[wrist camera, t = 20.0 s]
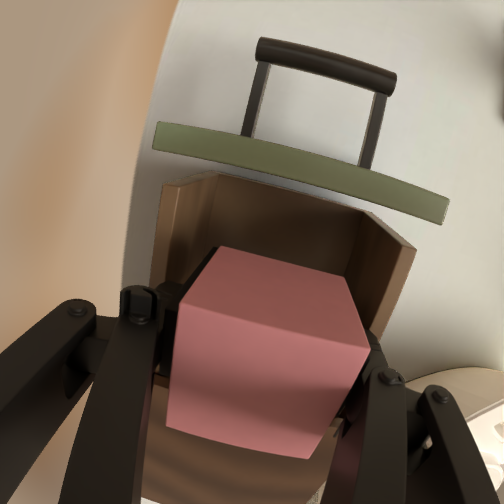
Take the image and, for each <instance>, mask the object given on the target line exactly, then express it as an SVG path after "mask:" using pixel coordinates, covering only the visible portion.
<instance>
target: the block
mask: <svg viewBox="0 0 504 504" xmlns="http://www.w3.org/2000/svg"><path fill="white" fill-rule="evenodd" d="M370 350H371V348H370V345H369V343H368V340H367V337H366V334H365V331H364V329H363V326H362V323H361V320H360V318H359V315H358V312H357V309H356V307H355V304H354V302H353V299H352V296H351V294H350V291H349V288H348V286H347V283H346V281H345V278H344V277H341V276H338V275H334V274H330V273H326V272H322V271H318V270H314V269H310V268H306V267H302V266H298V265H295V264H291V263H287V262H283V261H279V260H275V259H271V258H267V257H263V256H259V255H256V254H252V253H248V252H244V251H240V250H236V249H232V248H228V247H224V246H220V247H219V249H218V250H217V251H216V253H215V254H214V255H213V257H212V258H211V260H210V261H209V262H208V264H207V265H206V267H205V268H204V269H203V271H202V272H201V273H200V275H199V276H198V278H197V279H196V280H195V282H194V283H193V285H192V286H191V287H190V289H189V290H188V292H187V293H186V294H185V296H184V297H183V299H182V300H181V302H180V303H179V308H178V315H177V323H176V330H175V338H174V346H173V355H172V363H171V372H170V382H169V392H168V402H167V413H166V426H167V427H170V428H173V429H177V430H180V431H183V432H186V433H189V434H193V435H196V436H200V437H203V438H207V439H211V440H214V441H218V442H222V443H226V444H230V445H234V446H239V447H243V448H248V449H252V450H257V451H262V452H267V453H273V454H278V455H284V456H290V457H297V458H304V459H309V457H310V456H311V454H312V453H313V451H314V450H315V448H316V447H317V445H318V443H319V442H320V440H321V439H322V437H323V436H324V434H325V432H326V431H327V429H328V427H329V426H330V424H331V422H332V421H333V419H334V417H335V416H336V414H337V412H338V411H339V409H340V407H341V405H342V404H343V402H344V400H345V398H346V396H347V395H348V393H349V391H350V389H351V387H352V385H353V384H354V382H355V380H356V378H357V376H358V374H359V372H360V370H361V368H362V366H363V364H364V362H365V360H366V358H367V356H368V354H369V352H370Z"/></svg>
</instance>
